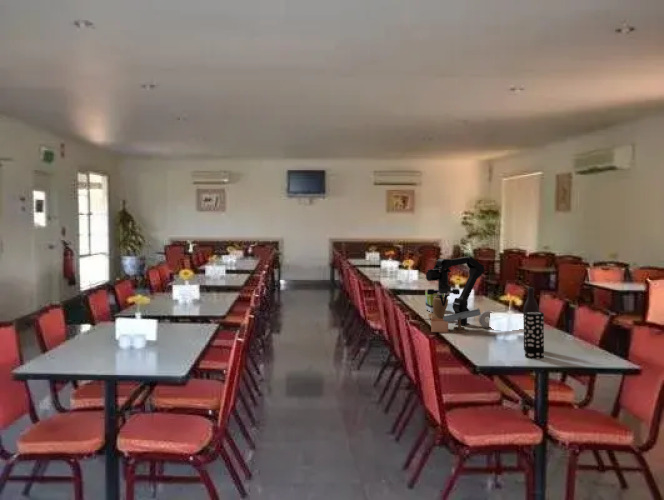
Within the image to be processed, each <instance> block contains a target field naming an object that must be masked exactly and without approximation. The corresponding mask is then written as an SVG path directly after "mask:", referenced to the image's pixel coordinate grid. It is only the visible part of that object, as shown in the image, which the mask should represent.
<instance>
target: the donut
mask: <svg viewBox="0 0 664 500" xmlns="http://www.w3.org/2000/svg"><path fill="white" fill-rule="evenodd" d="M480 313H481V315H479V316H478V323H479V324H480V325H481V327H483V328H484V329H489V328H488V327H489V321H486V318H487V317H488V318H489V319H490V313H493V312H492V311H490V310H483V312H480Z"/></svg>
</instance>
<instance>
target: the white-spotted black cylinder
mask: <svg viewBox="0 0 664 500" xmlns="http://www.w3.org/2000/svg"><path fill="white" fill-rule="evenodd" d="M524 314H525V350H524V357H525V358H527V359H531V360H532V359H534V360H536V359H537V360H539V359H544V357H545V334H544V333H545V325H544V324H545V322H544V320H545V318H544V317H545V314H544V312H541V311H539V312H526V313H524Z"/></svg>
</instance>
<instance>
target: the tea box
mask: <svg viewBox="0 0 664 500" xmlns="http://www.w3.org/2000/svg"><path fill="white" fill-rule="evenodd" d="M433 289H434V290H438V288H433ZM427 290H428V289H425V291H424V293H425V294H424V295H425V296H424V297H425V300H424V301H425V310H426V311H427V310H428V312H429V311H430V312H429V313H431V312H433V298H434V297H435V296H437V293H434V294H433V295H428V294H427ZM444 295H445V293H442V297H444Z"/></svg>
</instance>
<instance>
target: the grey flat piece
mask: <svg viewBox="0 0 664 500" xmlns="http://www.w3.org/2000/svg"><path fill="white" fill-rule="evenodd" d="M481 313H482V312H481V310H480V307H478V308H477V309H471V310H470V311H466V312H461V313H457V314H455V313H452V314H448V315H444V316H443V320H444V321H448V323H450V322H453V321H458V320H459V318H461V319H464V318H467V319H469V318H473V317H477V316H478V317H479V316H480V315H481Z"/></svg>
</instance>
